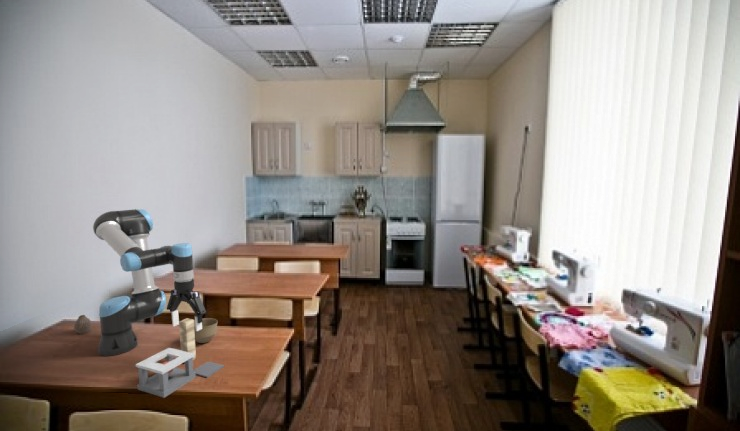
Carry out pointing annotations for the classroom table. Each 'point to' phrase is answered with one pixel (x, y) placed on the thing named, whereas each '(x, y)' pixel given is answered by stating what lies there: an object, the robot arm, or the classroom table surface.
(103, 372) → the classroom table surface
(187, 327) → the light wooden bar
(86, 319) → the brown rounded lump
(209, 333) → the bowl
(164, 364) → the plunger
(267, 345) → the classroom table surface
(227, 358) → the classroom table surface
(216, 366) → the pad
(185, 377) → the grey open box frame
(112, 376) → the classroom table surface
